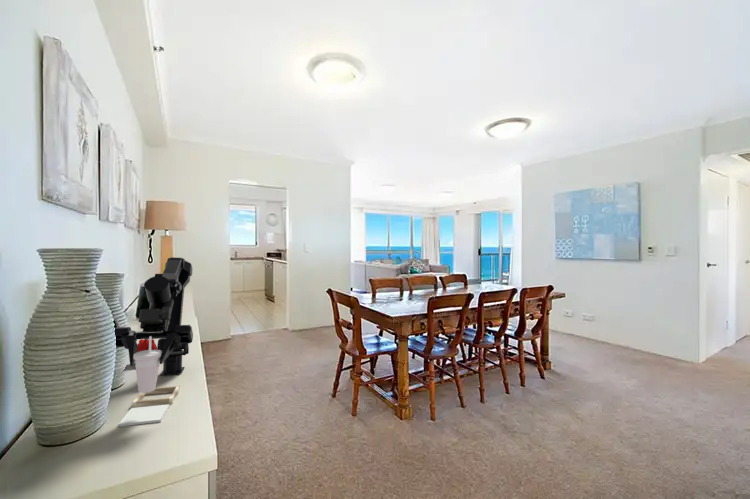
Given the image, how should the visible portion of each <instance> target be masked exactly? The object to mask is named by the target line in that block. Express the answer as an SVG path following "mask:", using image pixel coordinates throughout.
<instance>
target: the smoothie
mask: <svg viewBox="0 0 750 499" xmlns="http://www.w3.org/2000/svg"><path fill="white" fill-rule="evenodd" d="M148 340H149V350H144V351H140V352H137V353H135V354H134V355H133V359H135V362H134V364H135V374H136V382H137V384H136V385H137V390H138V391H137V392H138V393H139V394H140V393H147V392H151V391H153V390H155V388H157V387H156V386H157V381H158V374H159V370H160V365H161V364H160V357H161V354H162V351H161V350H151V345H152V336H149V339H148Z"/></svg>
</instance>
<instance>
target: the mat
mask: <svg viewBox="0 0 750 499" xmlns="http://www.w3.org/2000/svg"><path fill="white" fill-rule="evenodd" d="M170 406H171V404H164V405H155V406H145V407H135V408H132V407H131V408H130V409H129V411H128V412H127V413H126V414H125V416H124V417H123V418H122V419H121V421H119V423H118V424H117V425H118V426H120V427H127V426H136V425H143V424H144V425H145V424H153V423H161V422H162V420H163V418H165V415H166V413H167V412H168V410H169V409H170ZM118 426H117V427H118Z"/></svg>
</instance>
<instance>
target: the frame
mask: <svg viewBox="0 0 750 499" xmlns="http://www.w3.org/2000/svg"><path fill="white" fill-rule="evenodd" d="M180 391H181V386H180V385H172V386H160V387H159V386H158V387H155V390H153V391H151V392H147V393H139V394H138V395H137V396H136V398H135V399H133V401H132V404H131V406H132V407H131V408H137V407H147V406H157V405H167V404H170V405H173V403H174V401H175V400H176V398H177V397H178V394H179V393H180ZM167 393H168V394H169V393H171V395H170V396H169V397H163V398H150V399H143V398H144V397H145V396H146V395H154V394H167Z"/></svg>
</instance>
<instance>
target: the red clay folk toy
mask: <svg viewBox="0 0 750 499" xmlns="http://www.w3.org/2000/svg"><path fill="white" fill-rule="evenodd" d="M138 340H139V341H138V343H137V345H138V351H137V352H140V351H144V350H149V339H138ZM151 350H158V348H157V344H156V342H155V339H152V345H151Z"/></svg>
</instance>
